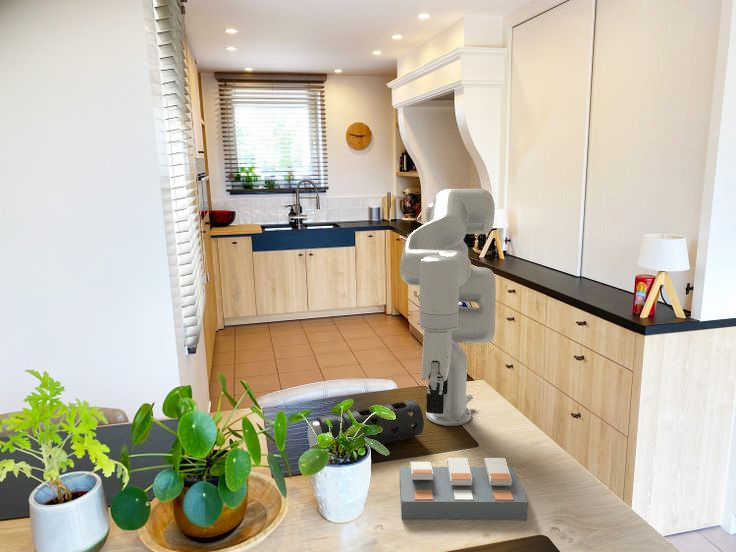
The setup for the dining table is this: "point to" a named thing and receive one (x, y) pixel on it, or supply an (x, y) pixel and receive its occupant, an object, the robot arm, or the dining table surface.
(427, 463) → the switch
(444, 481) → the console
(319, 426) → the muzzle brake
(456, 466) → the switch
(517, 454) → the dining table surface
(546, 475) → the dining table surface
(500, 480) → the switch
